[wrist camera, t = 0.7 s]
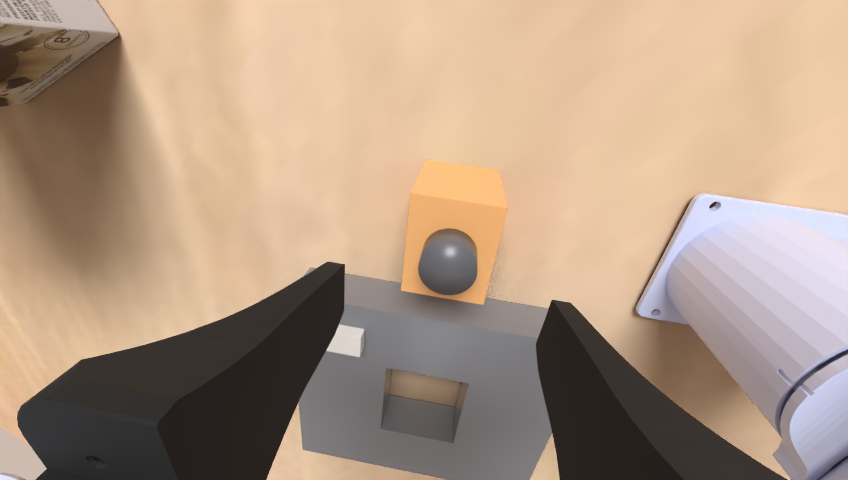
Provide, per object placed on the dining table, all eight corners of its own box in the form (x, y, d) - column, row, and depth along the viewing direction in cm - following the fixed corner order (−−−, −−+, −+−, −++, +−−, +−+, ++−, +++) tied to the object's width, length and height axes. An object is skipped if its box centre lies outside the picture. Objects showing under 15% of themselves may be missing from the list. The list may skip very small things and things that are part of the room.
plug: (499, 170, 19) (511, 223, 13) (481, 249, 21) (484, 326, 15) (426, 159, 19) (404, 206, 13) (417, 238, 21) (394, 310, 15)
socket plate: (578, 313, 22) (596, 358, 19) (517, 456, 30) (523, 506, 26) (310, 267, 23) (282, 302, 20) (317, 416, 31) (298, 459, 28)
